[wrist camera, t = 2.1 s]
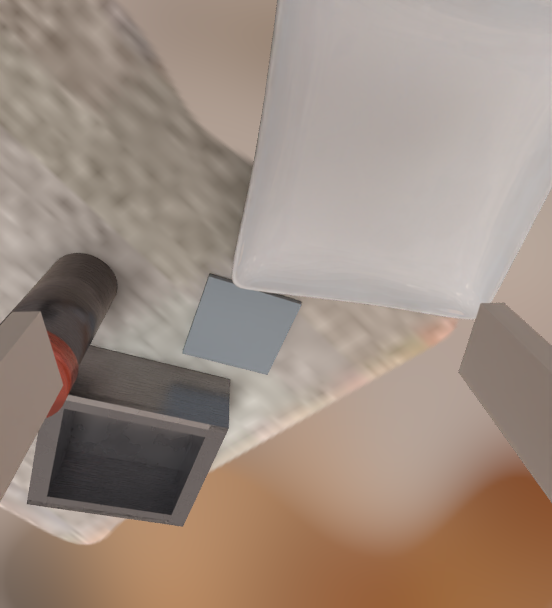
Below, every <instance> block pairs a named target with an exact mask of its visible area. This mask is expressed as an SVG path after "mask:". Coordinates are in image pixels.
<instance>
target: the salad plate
mask: <svg viewBox="0 0 552 608" xmlns="http://www.w3.org/2000/svg"><path fill="white" fill-rule="evenodd" d="M551 189H552V0H277V7H276V15H275V23H274V31H273V38H272V45H271V53H270V61H269V68H268V75H267V83H266V91H265V98H264V103H263V111H262V117H261V122H260V128H259V134H258V140H257V146H256V152H255V157H254V163H253V168H252V173H251V177H250V182H249V187H248V192H247V197H246V202H245V207H244V211H243V216H242V221H241V225H240V230H239V235H238V240H237V244H236V249H235V254H234V260H233V267H232V281H233V283H234V284H235V285H236V286H237V287H239V288H242V289H247V290H254V291H261V292H268V293H276V294H285V295H294V296H302V297H311V298H320V299H328V300H336V301H345V302H352V303H359V304H367V305H375V306H382V307H389V308H396V309H402V310H407V311H413V312H419V313H425V314H431V315H437V316H443V317H450V318H459V319H476V316H477V313H478V310H479V307H480V304H481V303H491V302H492V300H493V298H494V297H495V295H496V293H497V291H498V289H499V288H500V286H501V284H502V282H503V280H504V278H505V276H506V275H507V273H508V271H509V269H510V267H511V265H512V263H513V261H514V260H515V258H516V256H517V254H518V252H519V250H520V248H521V246H522V244H523V242H524V241H525V239H526V237H527V235H528V233H529V231H530V229H531V227H532V225H533V223H534V221H535V219H536V217H537V215H538V214H539V212H540V210H541V208H542V206H543V204H544V202H545V200H546V198H547V196H548V194H549V193H550V191H551Z"/></svg>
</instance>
